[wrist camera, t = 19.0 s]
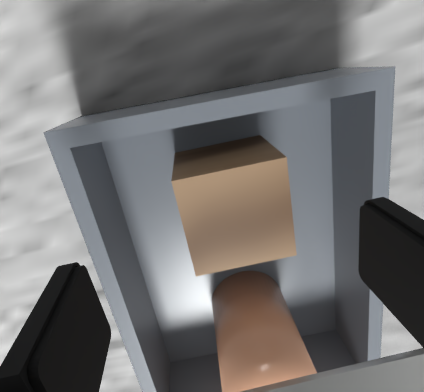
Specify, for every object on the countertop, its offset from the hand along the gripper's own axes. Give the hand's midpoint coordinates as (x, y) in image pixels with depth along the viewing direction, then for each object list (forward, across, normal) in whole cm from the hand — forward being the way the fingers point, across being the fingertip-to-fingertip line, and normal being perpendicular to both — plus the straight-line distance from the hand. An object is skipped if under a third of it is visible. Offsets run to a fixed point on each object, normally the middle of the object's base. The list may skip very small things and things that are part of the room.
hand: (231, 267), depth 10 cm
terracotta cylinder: (+9, -1, +9) cm, 13 cm away
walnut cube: (+9, -1, 0) cm, 9 cm away
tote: (+9, -1, +5) cm, 11 cm away
